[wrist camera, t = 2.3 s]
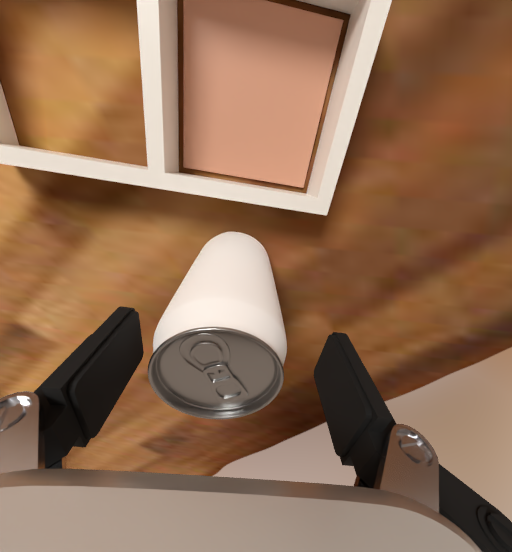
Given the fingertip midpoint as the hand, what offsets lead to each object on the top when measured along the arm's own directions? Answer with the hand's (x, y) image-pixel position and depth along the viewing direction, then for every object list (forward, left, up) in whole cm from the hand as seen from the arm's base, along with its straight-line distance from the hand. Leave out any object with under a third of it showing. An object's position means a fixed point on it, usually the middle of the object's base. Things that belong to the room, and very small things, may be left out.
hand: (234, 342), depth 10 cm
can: (0, +1, -10) cm, 10 cm away
